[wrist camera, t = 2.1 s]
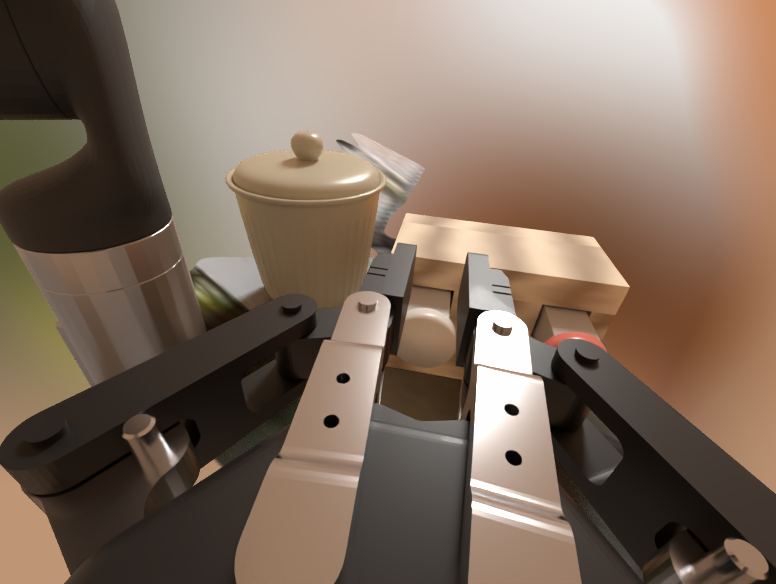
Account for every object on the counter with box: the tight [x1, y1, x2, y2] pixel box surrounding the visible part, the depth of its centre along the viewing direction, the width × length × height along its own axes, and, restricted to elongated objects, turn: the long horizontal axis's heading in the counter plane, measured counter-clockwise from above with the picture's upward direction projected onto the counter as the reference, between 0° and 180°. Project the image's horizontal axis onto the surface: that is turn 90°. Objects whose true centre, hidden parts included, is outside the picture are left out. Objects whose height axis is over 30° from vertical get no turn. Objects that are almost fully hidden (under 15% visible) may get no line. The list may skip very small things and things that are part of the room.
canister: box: [225, 131, 386, 309], centre depth 44 cm, size 18×18×21 cm
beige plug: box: [397, 285, 456, 368], centre depth 32 cm, size 5×9×5 cm, turn 170°
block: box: [386, 213, 629, 380], centre depth 38 cm, size 20×10×14 cm, turn 80°
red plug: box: [532, 304, 607, 352], centre depth 31 cm, size 5×9×5 cm, turn 170°
